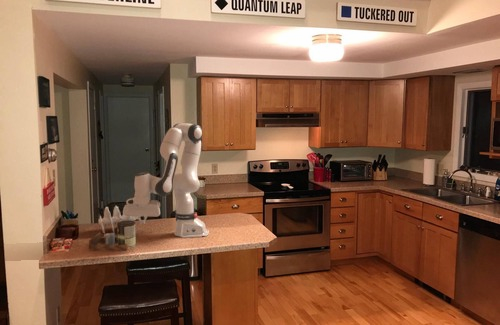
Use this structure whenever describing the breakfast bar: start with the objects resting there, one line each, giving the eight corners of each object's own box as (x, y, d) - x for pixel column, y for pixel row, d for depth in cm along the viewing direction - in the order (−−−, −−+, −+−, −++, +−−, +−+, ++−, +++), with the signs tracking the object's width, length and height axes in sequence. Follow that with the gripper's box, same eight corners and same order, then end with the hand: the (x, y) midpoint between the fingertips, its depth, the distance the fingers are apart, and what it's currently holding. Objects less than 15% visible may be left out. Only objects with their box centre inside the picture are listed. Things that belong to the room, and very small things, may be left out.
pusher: (114, 242, 238) (114, 231, 238) (108, 248, 226) (107, 237, 226) (108, 242, 238) (108, 231, 238) (101, 248, 226) (101, 237, 226)
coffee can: (115, 249, 227) (114, 225, 226) (120, 243, 237) (119, 220, 236) (134, 248, 228) (133, 224, 227) (137, 243, 238) (136, 220, 237)
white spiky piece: (99, 238, 262) (138, 231, 273) (101, 233, 247) (142, 226, 258) (96, 211, 267) (134, 206, 278) (97, 204, 252) (137, 199, 263)
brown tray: (134, 241, 241) (133, 232, 240) (126, 250, 225) (126, 240, 224) (99, 242, 240) (98, 232, 240) (89, 250, 224) (88, 240, 224)
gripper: (161, 199, 233) (161, 222, 234) (126, 199, 233) (126, 222, 234) (159, 201, 227) (159, 225, 228) (123, 201, 226) (123, 224, 228)
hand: (142, 223), depth 231 cm, fingers closed
